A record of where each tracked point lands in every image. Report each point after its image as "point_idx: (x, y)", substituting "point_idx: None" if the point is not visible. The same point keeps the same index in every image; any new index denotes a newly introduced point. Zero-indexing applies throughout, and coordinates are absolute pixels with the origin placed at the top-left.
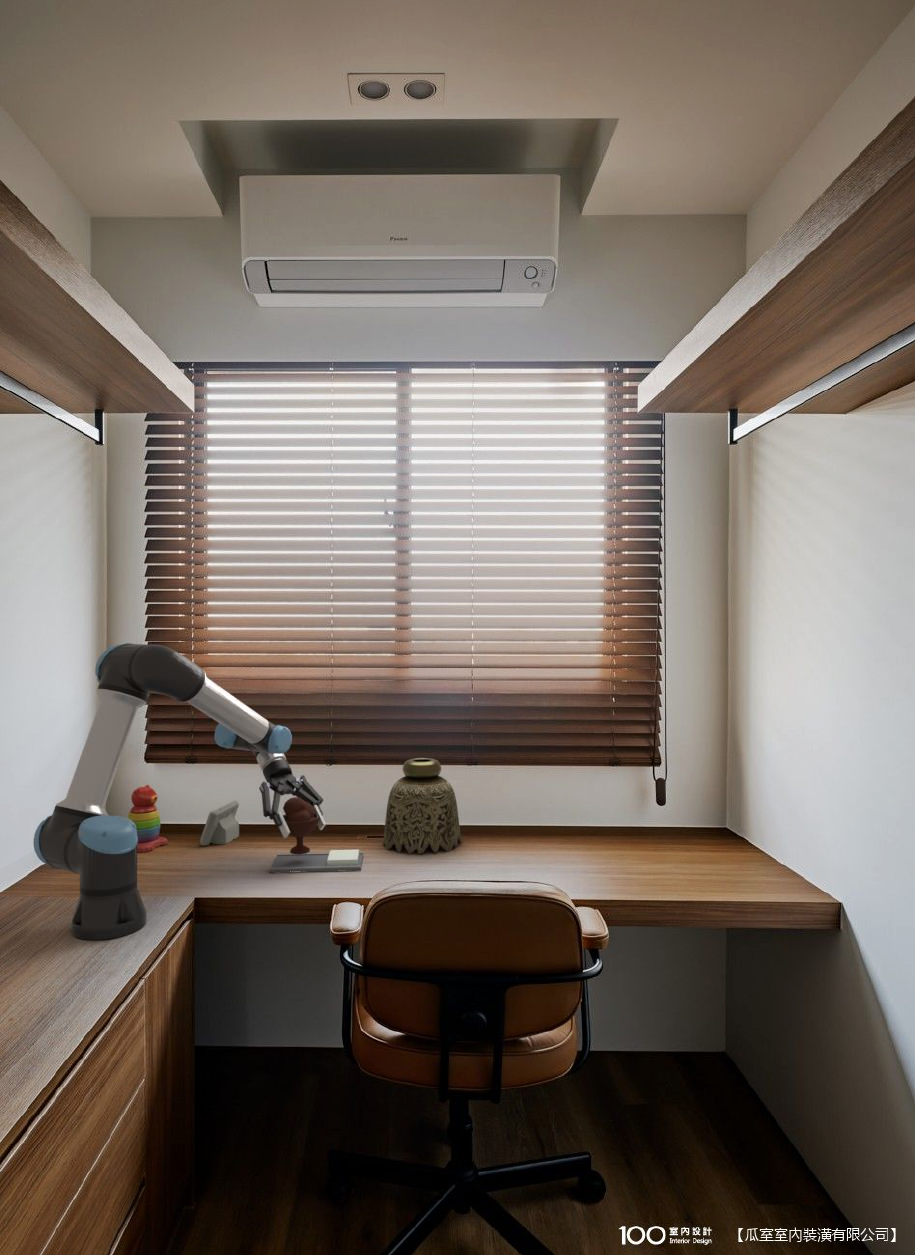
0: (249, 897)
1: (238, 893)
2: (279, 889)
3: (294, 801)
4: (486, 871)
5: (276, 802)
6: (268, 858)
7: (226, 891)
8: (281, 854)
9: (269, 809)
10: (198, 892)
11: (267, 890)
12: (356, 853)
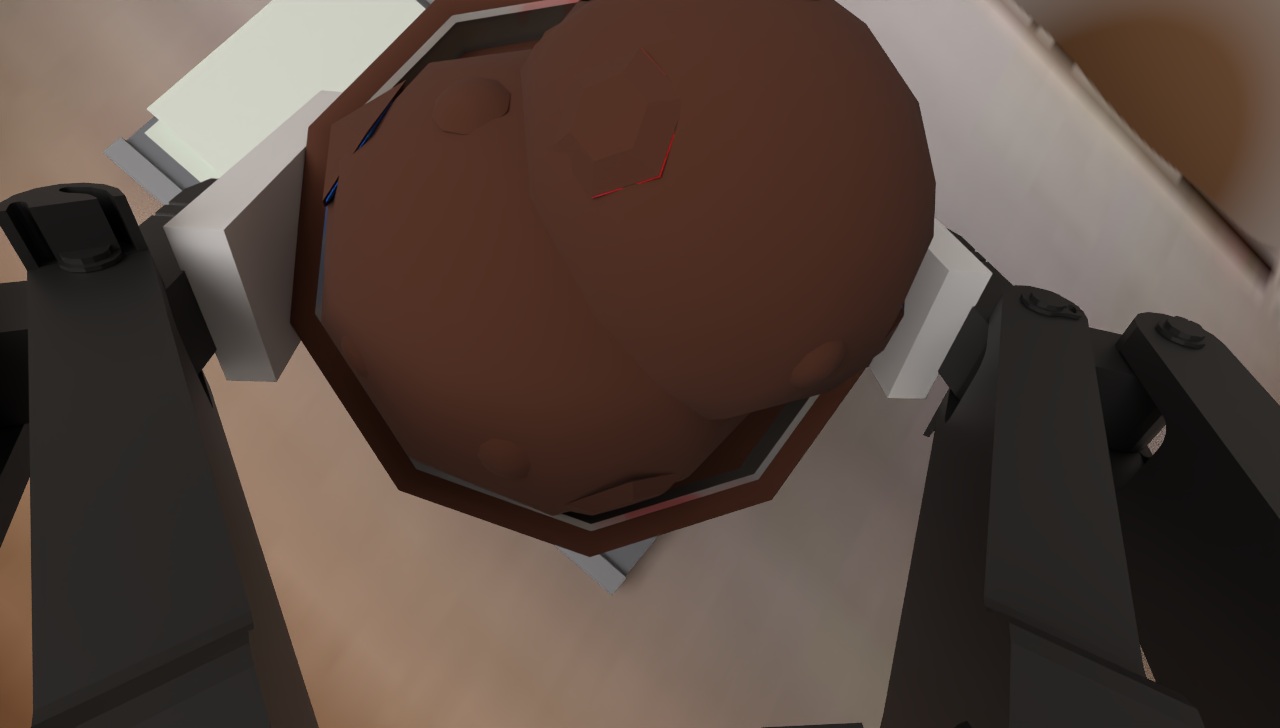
0: (1077, 78)
1: (1093, 169)
2: (913, 58)
3: (849, 17)
4: None
5: (1065, 419)
6: (658, 628)
7: (1125, 242)
8: (595, 562)
9: (1182, 325)
10: (1233, 337)
11: (966, 93)
12: (240, 47)
